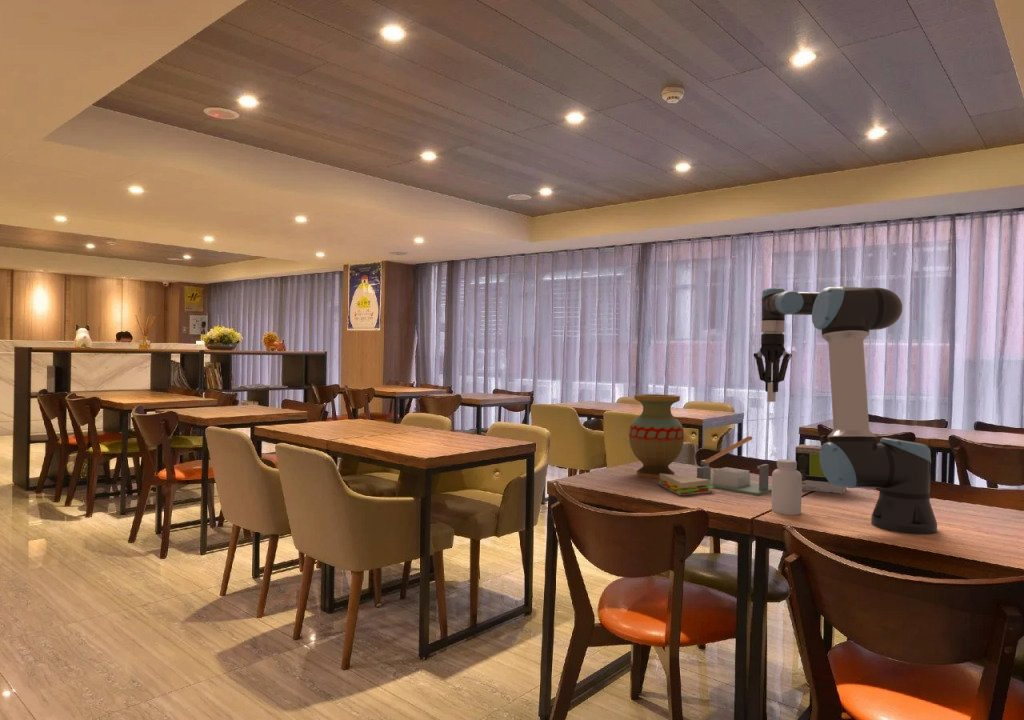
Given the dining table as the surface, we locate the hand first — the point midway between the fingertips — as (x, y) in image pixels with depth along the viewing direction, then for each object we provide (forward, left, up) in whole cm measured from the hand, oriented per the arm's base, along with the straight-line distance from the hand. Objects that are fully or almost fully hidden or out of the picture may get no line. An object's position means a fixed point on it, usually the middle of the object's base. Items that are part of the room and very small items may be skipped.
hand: (771, 401), depth 237 cm
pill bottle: (-36, -22, -30) cm, 52 cm away
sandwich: (-32, +15, -30) cm, 46 cm away
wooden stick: (-13, +18, -22) cm, 32 cm away
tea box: (+8, -14, -30) cm, 34 cm away
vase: (-16, +36, -30) cm, 49 cm away
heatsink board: (-13, +18, -29) cm, 37 cm away
